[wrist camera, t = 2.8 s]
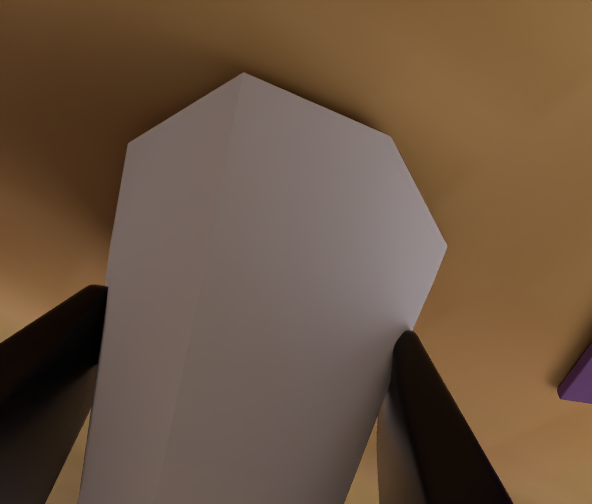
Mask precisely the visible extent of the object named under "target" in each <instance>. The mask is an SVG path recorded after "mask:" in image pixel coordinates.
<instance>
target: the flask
mask: <svg viewBox="0 0 592 504" xmlns="http://www.w3.org/2000/svg"><path fill="white" fill-rule="evenodd" d="M446 249H447V244H446V242H445V240H444V238H443V236H442V235H441V233H440V231H439V229H438V227H437V225H436V223H435V221H434V219H433V217H432V215H431V213H430V211H429V209H428V207H427V205H426V204H425V202H424V200H423V198H422V196H421V194H420V192H419V190H418V188H417V186H416V184H415V182H414V180H413V178H412V176H411V174H410V173H409V171H408V169H407V167H406V165H405V163H404V161H403V159H402V157H401V155H400V153H399V151H398V149H397V147H396V145H395V143H394V142H393V140H392V138H391V136H389V135H386V134H384V133H382V132H380V131H377V130H375V129H373V128H370V127H368V126H366V125H364V124H361V123H359V122H357V121H354V120H352V119H350V118H347V117H345V116H343V115H341V114H338V113H336V112H334V111H331V110H329V109H327V108H325V107H322V106H320V105H318V104H315V103H313V102H311V101H309V100H306V99H304V98H302V97H299V96H297V95H295V94H292V93H290V92H288V91H286V90H283V89H281V88H279V87H276V86H274V85H272V84H270V83H267V82H265V81H263V80H260V79H258V78H256V77H254V76H251V75H249V74H247V73H244V72H243V73H241V74H240V75H238V76H237V77H235V78H233V79H232V80H230V81H228V82H227V83H225V84H223V85H222V86H220V87H219V88H217V89H215V90H214V91H212V92H210V93H209V94H207V95H206V96H204V97H202V98H201V99H199V100H197V101H196V102H194V103H193V104H191V105H189V106H188V107H186V108H184V109H183V110H181V111H180V112H178V113H176V114H175V115H173V116H171V117H170V118H168V119H167V120H165V121H163V122H162V123H160V124H158V125H157V126H155V127H153V128H152V129H150V130H149V131H147V132H145V133H144V134H142V135H140V136H139V137H137V138H136V139H134V140H132V141H131V142H129V143H128V146H127V152H126V157H125V163H124V169H123V175H122V180H121V186H120V192H119V198H118V203H117V209H116V215H115V221H114V226H113V232H112V238H111V244H110V251H109V258H108V265H107V272H106V283H105V286H108V295H107V302H106V309H105V317H104V324H103V331H102V338H101V345H100V352H99V359H98V365H97V372H96V379H95V386H94V393H93V400H92V407H91V414H90V421H89V428H88V435H87V443H86V450H85V457H84V464H83V471H82V478H81V485H80V492H79V498H78V502H77V504H344V502H345V500H346V497H347V494H348V492H349V489H350V487H351V484H352V481H353V479H354V476H355V473H356V471H357V468H358V466H359V463H360V460H361V458H362V455H363V453H364V450H365V447H366V445H367V442H368V439H369V437H370V434H371V432H372V429H373V426H374V424H375V421H376V419H377V416H378V413H379V411H380V408H381V405H382V403H383V400H384V398H385V395H386V392H387V390H388V387H389V385H390V382H391V372H392V359H393V349H394V345H395V343H396V341H397V340H398V338H399V337H400V336H401V335H402V333H403V332H404V331H406V330H411V331H412V330H413V328H414V326H415V323H416V321H417V319H418V316H419V314H420V312H421V309H422V307H423V305H424V303H425V300H426V298H427V296H428V293H429V291H430V289H431V287H432V284H433V282H434V280H435V277H436V275H437V272H438V270H439V267H440V264H441V262H442V259H443V257H444V254H445V251H446Z"/></svg>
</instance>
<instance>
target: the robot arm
mask: <svg viewBox="0 0 592 504" xmlns="http://www.w3.org/2000/svg"><path fill="white" fill-rule="evenodd" d="M107 295H108V286H102V285H89V286H87V287H85V288H84V289H82V290H81V291H79V292H78V293H76V294H75V295H73V296H72V297H70V298H68V299H67V300H65V301H64V302H62V303H61V304H59V305H58V306H56V307H55V308H53V309H52V310H50V311H49V312H47V313H46V314H44V315H43V316H41V317H40V318H38V319H36V320H35V321H33V322H32V323H30V324H29V325H27V326H26V327H24V328H23V329H21V330H20V331H18V332H17V333H15V334H14V335H12V336H11V337H9V338H8V339H6V340H4V341H3V342H1V343H0V504H45V503H46V500H47V498H48V496H49V494H50V492H51V490H52V488H53V486H54V484H55V482H56V480H57V478H58V476H59V474H60V471H61V469H62V467H63V465H64V463H65V461H66V459H67V457H68V455H69V453H70V451H71V449H72V447H73V445H74V443H75V440H76V438H77V436H78V434H79V432H80V430H81V428H82V426H83V424H84V422H85V420H86V418H87V416H88V414H89V411H90V409H91V407H92V400H93V393H94V386H95V379H96V372H97V365H98V359H99V352H100V345H101V338H102V331H103V324H104V317H105V309H106V302H107ZM377 467H378V484H379V502H380V504H513V502H512V500H511V498H510V497H509V495H508V493H507V491H506V490H505V488H504V486H503V484H502V483H501V481H500V479H499V477H498V476H497V474H496V472H495V470H494V469H493V467H492V465H491V464H490V462H489V460H488V458H487V457H486V455H485V453H484V451H483V450H482V448H481V446H480V444H479V443H478V441H477V439H476V437H475V436H474V434H473V432H472V430H471V429H470V427H469V425H468V423H467V422H466V420H465V418H464V417H463V415H462V413H461V411H460V410H459V408H458V406H457V404H456V403H455V401H454V399H453V397H452V396H451V394H450V392H449V390H448V389H447V387H446V385H445V383H444V382H443V380H442V378H441V376H440V375H439V373H438V371H437V369H436V368H435V366H434V364H433V363H432V361H431V359H430V357H429V356H428V354H427V352H426V350H425V349H424V347H423V345H422V343H421V342H420V340H419V338H418V336H417V335H416V333H415V332H413V331H411V330H406V331H404V332H403V333H402V335H401V336H400V337H399V338H398V340H397V341H396V343H395V345H394V349H393V359H392V372H391V382H390V385H389V387H388V390H387V392H386V395H385V398H384V400H383V403H382V405H381V408H380V411H379V413H378V425H377Z"/></svg>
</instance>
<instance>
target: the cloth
mask: <svg viewBox="0 0 592 504" xmlns="http://www.w3.org/2000/svg"><path fill="white" fill-rule="evenodd" d="M557 392H558V395H559V398H560V399H563V400H570V401H576V402H583V403H590V404H592V343H591V344H590V346H589V347H588V348H587V350H586V351H585V352H584V354H583V355H582V357H581V358H580V359H579V361H578V362H577V363H576V365H575V366H574V367H573V369H572V370H571V372H570V373H569V374H568V376H567V377H566V378H565V380H564V381H563V383H562V384H561V385H560V387H559V388H558V389H557Z"/></svg>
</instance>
